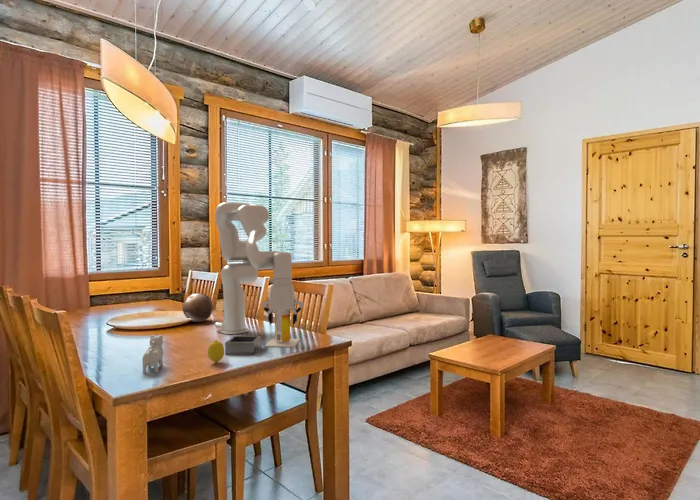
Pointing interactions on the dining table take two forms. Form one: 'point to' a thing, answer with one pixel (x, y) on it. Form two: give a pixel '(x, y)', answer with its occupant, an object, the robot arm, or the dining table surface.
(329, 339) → the dining table surface
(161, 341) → the white dog figurine
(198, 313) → the wooden sphere
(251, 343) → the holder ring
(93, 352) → the dining table surface
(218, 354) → the lemon
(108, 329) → the dining table surface
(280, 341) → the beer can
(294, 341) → the tile pad
